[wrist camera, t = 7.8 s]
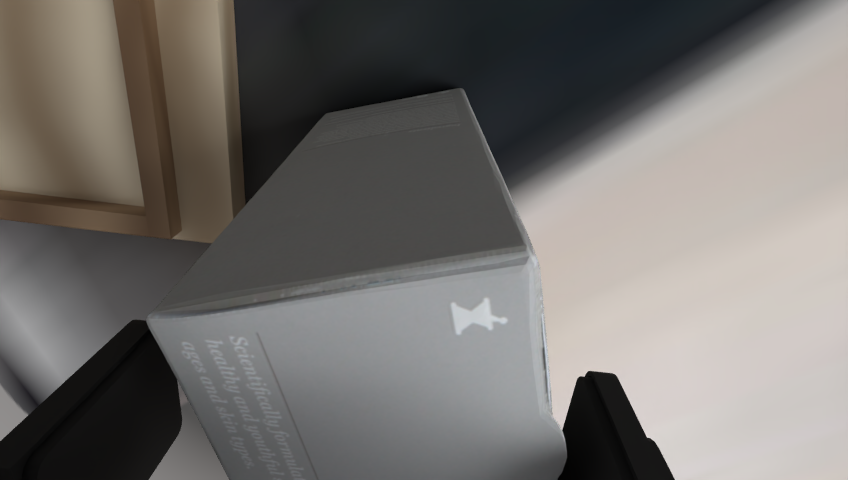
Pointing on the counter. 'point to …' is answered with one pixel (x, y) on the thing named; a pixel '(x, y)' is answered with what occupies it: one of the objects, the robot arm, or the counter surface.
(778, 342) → the counter surface
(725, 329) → the counter surface
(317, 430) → the skincare box
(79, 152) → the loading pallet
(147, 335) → the robot arm
